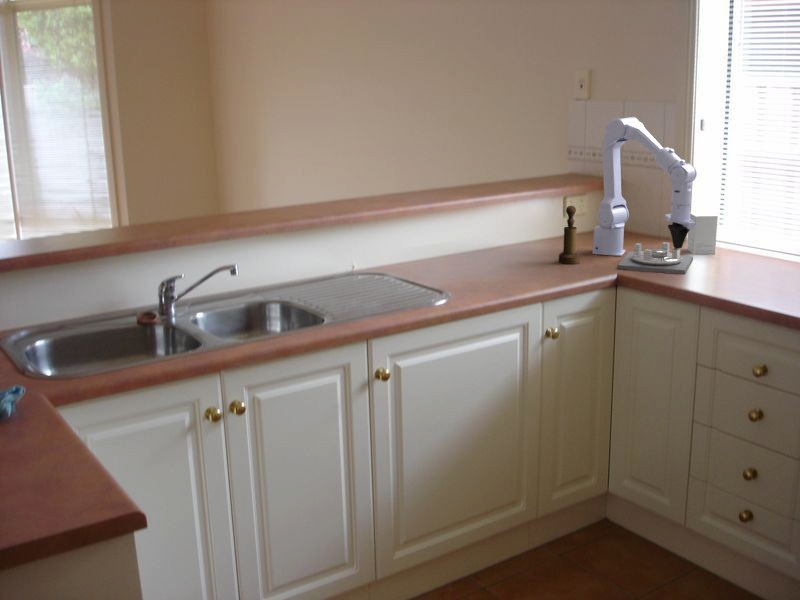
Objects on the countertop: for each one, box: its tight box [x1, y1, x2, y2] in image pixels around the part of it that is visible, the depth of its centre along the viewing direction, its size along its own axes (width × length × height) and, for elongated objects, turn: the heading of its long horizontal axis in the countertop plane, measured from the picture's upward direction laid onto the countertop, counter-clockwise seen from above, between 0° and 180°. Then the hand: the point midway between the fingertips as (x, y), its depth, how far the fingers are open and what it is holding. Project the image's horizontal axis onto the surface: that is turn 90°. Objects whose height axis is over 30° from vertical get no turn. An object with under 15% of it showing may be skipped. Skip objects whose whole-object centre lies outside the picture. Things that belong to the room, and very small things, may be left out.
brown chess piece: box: [558, 205, 581, 265], centre depth 297 cm, size 7×6×18 cm
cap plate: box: [617, 251, 694, 275], centre depth 295 cm, size 20×20×1 cm
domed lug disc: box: [632, 241, 682, 265], centre depth 294 cm, size 15×15×4 cm
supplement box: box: [686, 211, 719, 255], centre depth 310 cm, size 7×7×13 cm
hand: (677, 247), depth 293 cm, fingers closed
